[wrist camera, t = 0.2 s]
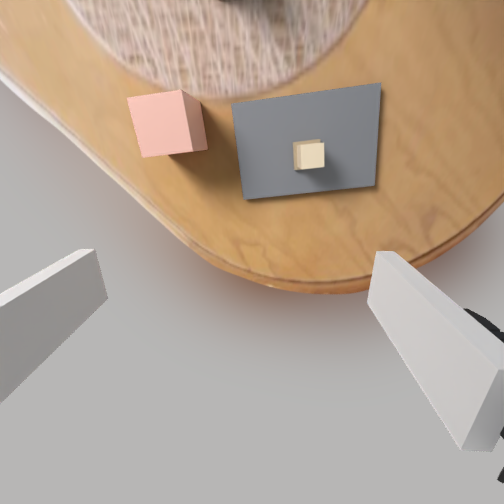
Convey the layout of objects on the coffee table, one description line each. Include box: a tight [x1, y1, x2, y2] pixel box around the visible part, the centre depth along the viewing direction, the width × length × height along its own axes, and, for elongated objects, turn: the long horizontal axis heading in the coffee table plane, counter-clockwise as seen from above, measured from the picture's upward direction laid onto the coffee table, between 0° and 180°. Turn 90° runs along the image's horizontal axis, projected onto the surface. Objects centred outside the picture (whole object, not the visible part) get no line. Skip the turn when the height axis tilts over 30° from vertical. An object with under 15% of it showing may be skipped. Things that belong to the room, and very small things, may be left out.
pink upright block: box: [127, 90, 208, 158], centre depth 31 cm, size 6×6×8 cm
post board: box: [231, 83, 381, 200], centre depth 32 cm, size 12×18×6 cm, turn 97°
